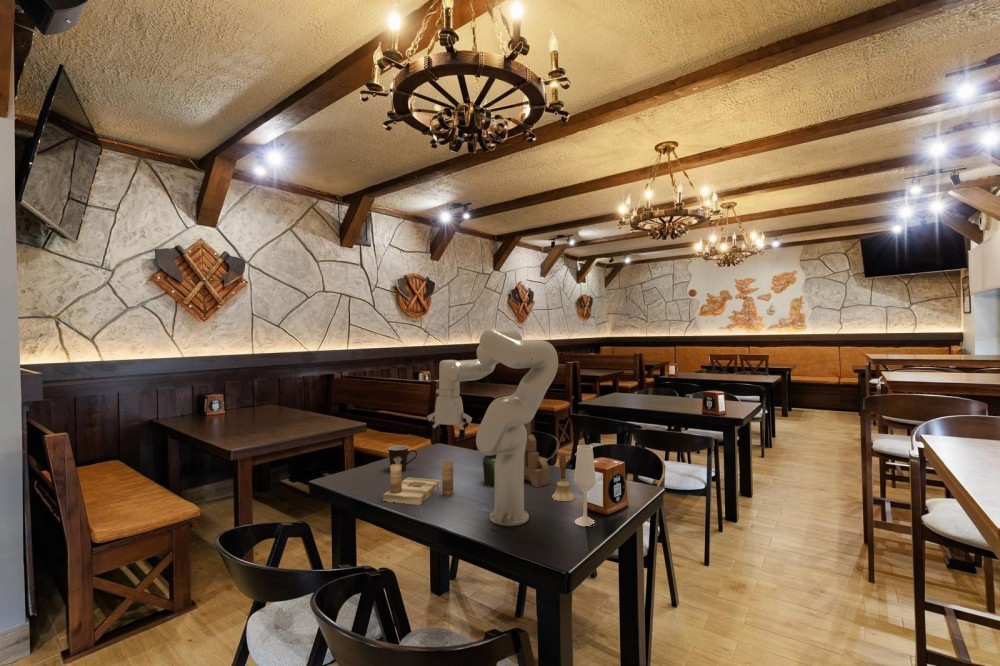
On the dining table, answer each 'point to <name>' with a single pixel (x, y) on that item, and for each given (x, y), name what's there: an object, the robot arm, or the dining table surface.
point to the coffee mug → (399, 455)
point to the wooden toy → (534, 462)
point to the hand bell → (563, 484)
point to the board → (409, 488)
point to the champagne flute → (584, 478)
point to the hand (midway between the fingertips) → (449, 439)
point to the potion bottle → (489, 469)
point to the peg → (447, 478)
